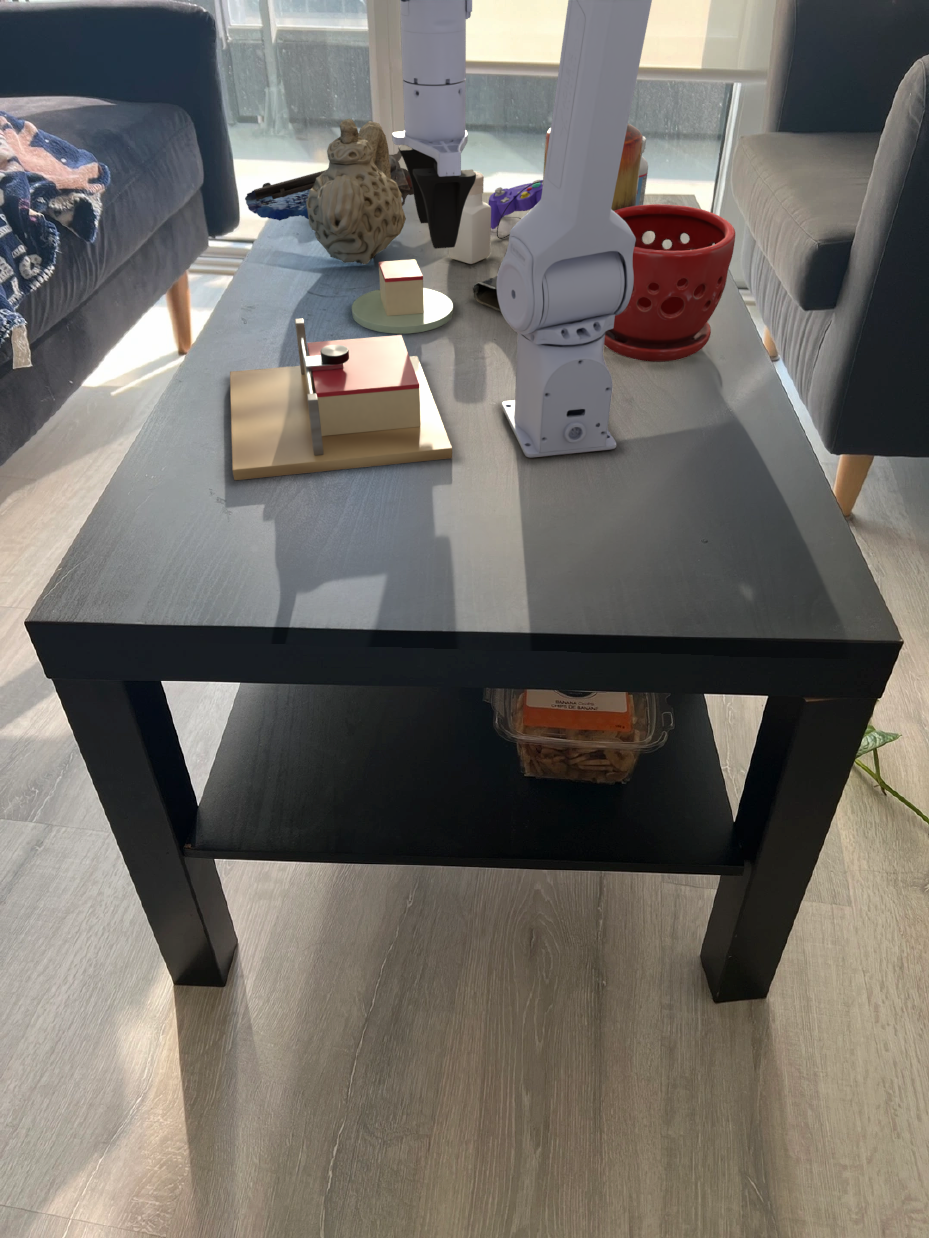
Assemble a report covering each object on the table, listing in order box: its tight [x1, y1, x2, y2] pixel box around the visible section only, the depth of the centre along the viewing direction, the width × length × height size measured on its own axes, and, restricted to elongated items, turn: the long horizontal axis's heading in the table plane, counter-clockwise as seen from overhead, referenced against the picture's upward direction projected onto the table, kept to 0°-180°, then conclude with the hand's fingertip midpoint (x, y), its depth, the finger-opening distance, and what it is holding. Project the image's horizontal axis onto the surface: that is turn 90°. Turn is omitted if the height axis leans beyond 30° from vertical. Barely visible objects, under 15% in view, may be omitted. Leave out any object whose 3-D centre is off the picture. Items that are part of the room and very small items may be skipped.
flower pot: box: [604, 203, 736, 363], centre depth 91 cm, size 13×13×12 cm
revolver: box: [253, 150, 414, 207], centre depth 123 cm, size 26×4×12 cm
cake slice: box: [378, 258, 424, 316], centre depth 99 cm, size 5×4×4 cm
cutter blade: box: [301, 338, 349, 394], centre depth 81 cm, size 11×4×5 cm, turn 12°
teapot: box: [306, 118, 407, 266], centre depth 109 cm, size 21×12×15 cm, turn 170°
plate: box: [351, 287, 454, 335], centre depth 101 cm, size 11×11×1 cm
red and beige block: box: [306, 334, 421, 436], centre depth 82 cm, size 10×9×4 cm
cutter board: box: [229, 318, 453, 481], centre depth 81 cm, size 18×18×6 cm
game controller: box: [487, 179, 543, 240], centre depth 120 cm, size 10×8×10 cm
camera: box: [472, 275, 501, 312], centre depth 101 cm, size 5×10×4 cm, turn 42°
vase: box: [542, 123, 644, 211], centre depth 106 cm, size 11×11×20 cm
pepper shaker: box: [447, 171, 492, 265], centre depth 111 cm, size 4×4×10 cm
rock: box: [244, 189, 311, 222], centre depth 127 cm, size 15×17×2 cm
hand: (436, 234), depth 93 cm, fingers open, 7 cm apart
